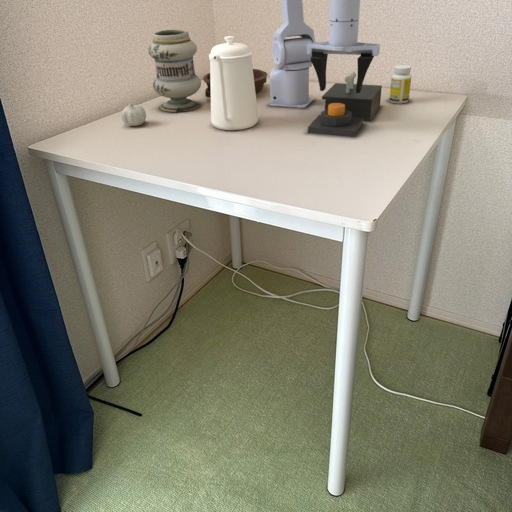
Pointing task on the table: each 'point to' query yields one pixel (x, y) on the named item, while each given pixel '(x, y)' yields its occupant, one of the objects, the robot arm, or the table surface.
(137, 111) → the garlic
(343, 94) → the lid
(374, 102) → the dark grey lipped box
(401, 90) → the supplement bottle
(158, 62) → the apothecary jar
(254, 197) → the table surface
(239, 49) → the coffeepot
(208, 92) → the dish
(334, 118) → the orange push button box
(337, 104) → the button
